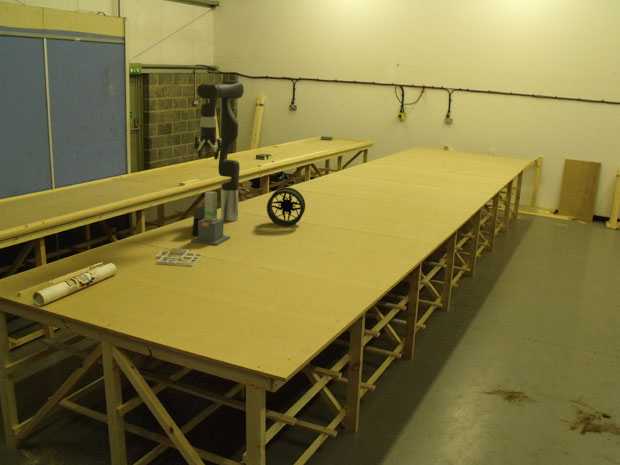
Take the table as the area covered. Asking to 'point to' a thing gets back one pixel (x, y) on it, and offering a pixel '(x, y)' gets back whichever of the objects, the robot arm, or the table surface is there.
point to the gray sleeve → (210, 232)
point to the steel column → (211, 206)
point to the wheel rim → (286, 206)
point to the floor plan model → (175, 260)
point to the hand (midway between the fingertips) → (208, 158)
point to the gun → (197, 218)
